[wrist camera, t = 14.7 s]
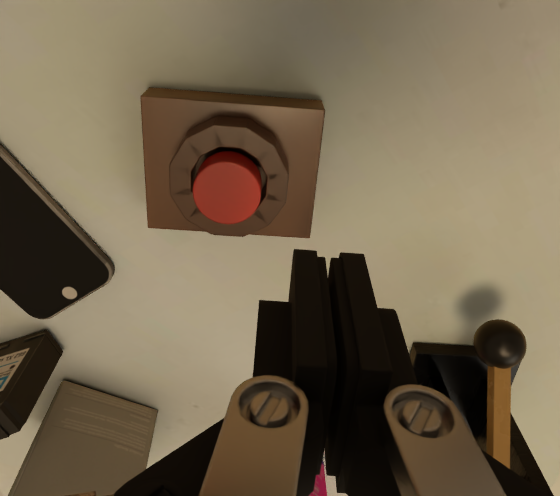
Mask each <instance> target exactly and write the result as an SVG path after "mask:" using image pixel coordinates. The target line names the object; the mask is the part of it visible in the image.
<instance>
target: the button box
mask: <svg viewBox="0 0 560 496" xmlns="http://www.w3.org/2000/svg"><path fill="white" fill-rule="evenodd" d="M141 114H142V131H143V149H144V167H145V185H146V202H147V220H148V228H158V229H174V230H190V231H205V232H208V233H210V234H213V235H223V236H239V237H241V236H242V237H243V236H246V235H248V234H252V235H267V236H283V237H299V238H310V232H311V224H312V215H313V207H314V199H315V190H316V182H317V173H318V165H319V157H320V148H321V140H322V132H323V123H324V115H325V109H324V106H323V103H322V100H310V99H297V98H284V97H271V96H258V95H245V94H232V93H219V92H205V91H192V90H179V89H166V88H153V87H149V88H148V89H147V90H146V91H145V92H144V93H143V94H142V95H141ZM222 151H233V152H238V153H240V154H243V155H245V156H247V157H248V158H249V159H251V160H252V161H253V162H254V164H255V165H256V166H257V168H258V170H259V172H260V175H261V180H262V187H261V199H260V203H259V206H258V208H257V209H256V211H255V212H254V213H253V214H252V215H251V216H250V217H249V218H247V219H246V220H244V221H242V222H239V223H235V224H221V223H217V222H215V221H212V220H210V219H209V218H207V217H206V216H205V215H203V214H202V213H201V212H200V210H199V209H198V208H197V206H196V204H195V201H194V198H193V184H194V181H195V178H196V175H197V173H198V170H199V168H200V166H201V164H202V163H203V162H204V161H205V160H206V159H207V158H208V157H209V156H211V155H213V154H215V153H218V152H222Z"/></svg>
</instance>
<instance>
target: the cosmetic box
mask: <svg viewBox="0 0 560 496" xmlns="http://www.w3.org/2000/svg"><path fill="white" fill-rule="evenodd" d="M157 412H158V411H157V410H155V409H152V408H149V407H145V406H142V405H139V404H136V403H133V402H130V401H127V400H124V399H121V398H117V397H114V396H111V395H108V394H105V393H102V392H99V391H96V390H93V389H89V388H86V387H83V386H80V385H77V384H74V383H71V382H68V381H62V382H61V383H60V386H59V388H58V390H57V392H56V394H55V396H54V398H53V400H52V402H51V404H50V407H49V409H48V411H47V413H46V415H45V417H44V419H43V421H42V423H41V425H40V427H39V430H38V432H37V434H36V436H35V438H34V440H33V442H32V444H31V447H30V449H29V451H28V453H27V455H26V457H25V459H24V461H23V464H22V466H21V468H20V470H19V473H18V475H17V477H16V479H15V481H14V483H13V486H12V488H11V490H10V492H9V494H8V496H65V495H72V494H78V493H84V492H91V491H96V494H97V496H106V495H112V494H114V493H115V492H116V491H117V490H118V489H119V488H120V487H122V486H123V485H124V484H125V483H126V482H127V481H129V480H131V479H132V478H134V477H135V476H137V475H138V474H140V473H141V472H143V471H144V470H146V466H147V461H148V457H149V452H150V447H151V442H152V438H153V433H154V427H155V422H156V417H157Z"/></svg>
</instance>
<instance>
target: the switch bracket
mask: <svg viewBox="0 0 560 496" xmlns="http://www.w3.org/2000/svg"><path fill="white" fill-rule="evenodd" d="M410 359H411V363H412V366H413V369H414V373H415V376H416V379H417V383H418V385H422V386H425V387H429V388H432V389H434V390H436V391H438V392H440V393H442V394H444V395H445V396H446V397H447V398H448V399H450V400H451V401H452V402H453V403H454V404H455V406H456V407H457V408H458V410H459V411H460V413H461V415H462V417H463V418H464V420H465V422H466V424H467V426H468V427H469V429H470V431H471V433H472V435H473V436H474V438H475V440H476V442H477V444H478V445H479V447H480V449H482V450H483V451H484V452H486V453H487V384H488V365H486V364H485V363H483V362H482V361H481V360H480V359H479V358H478V356H477V354H476V352H475V350H474V346H463V345H445V344H427V343H413V345H412V349H411V353H410ZM520 363H521V361H520V362H519V363H518V364H517V365H515V366H513V367H511V385H512V382H513V380H514V377H515V375H516V372H517V370H518V368H519V365H520ZM510 469H511V470H512V471H514V472H515V473H516V474H518V475H519V476H521V477H522V478H524V479H525V480H527V481H528V482H530V483H531V484H532V485H534V486H535V487H537V488H538V489H540V490H541V491H543V492H544V493H546V494H547V495H548V496H554V495H553V494H552V492H551V490H550V488H549V486H548V484H547V482H546V480H545V478H544V476H543V474H542V472H541V470H540V468H539V467H538V465H537V463H536V461H535V459H534V457H533V455H532V453H531V451H530V449H529V447H528V445H527V443H526V442H525V440H524V438H523V436H522V434H521V432H520V430H519V428H518V426H517V424H516V422H515V420H514V418H513V416H512V415H511V413H510Z"/></svg>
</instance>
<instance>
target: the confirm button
mask: <svg viewBox="0 0 560 496" xmlns="http://www.w3.org/2000/svg"><path fill="white" fill-rule="evenodd" d="M261 187H262V180H261V175H260V172H259V170H258V168H257V166H256V165H255V164H254V162H253V161H252V160H251V159H249V158H248V157H247V156H245V155H243V154H240V153H238V152H233V151H222V152H218V153H215V154H213V155H211V156H209V157H208V158H207V159H206V160H205V161H204V162H203V163H202V164H201V166H200V168H199V170H198V173H197V175H196V178H195V181H194V184H193V198H194V201H195V204H196V206H197V208H198V209H199V210H200V212H201V213H202V214H203V215H205V216H206V217H207V218H209V219H210V220H212V221H215V222H217V223H221V224H235V223H239V222H242V221H244V220H246V219H247V218H249V217H250V216H251V215H252V214H253V213H254V212H255V211H256V209H257V208H258V206H259V203H260V199H261Z"/></svg>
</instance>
